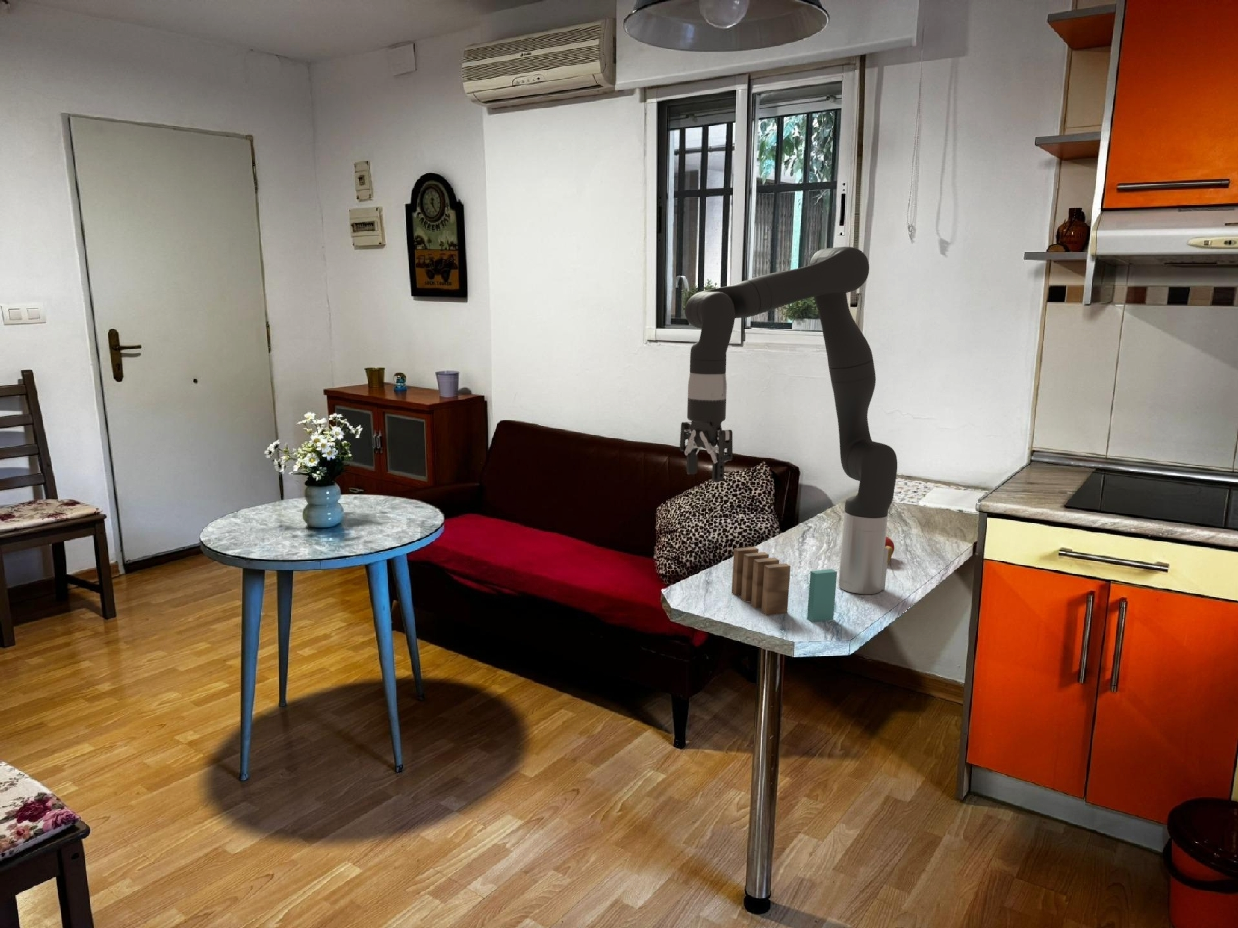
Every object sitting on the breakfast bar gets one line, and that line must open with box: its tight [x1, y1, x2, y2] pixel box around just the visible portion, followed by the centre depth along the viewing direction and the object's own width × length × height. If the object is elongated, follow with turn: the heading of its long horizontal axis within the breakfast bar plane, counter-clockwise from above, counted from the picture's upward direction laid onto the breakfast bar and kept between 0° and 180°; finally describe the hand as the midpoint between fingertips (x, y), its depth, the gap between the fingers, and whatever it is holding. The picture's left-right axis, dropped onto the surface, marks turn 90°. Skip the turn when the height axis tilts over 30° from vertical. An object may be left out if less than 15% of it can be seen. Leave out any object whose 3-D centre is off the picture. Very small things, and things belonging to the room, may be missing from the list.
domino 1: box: [731, 546, 759, 596], centre depth 184 cm, size 5×2×10 cm, turn 111°
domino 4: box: [761, 562, 791, 616], centre depth 173 cm, size 5×2×10 cm, turn 111°
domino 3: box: [750, 557, 780, 610], centre depth 177 cm, size 5×2×10 cm, turn 111°
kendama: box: [885, 536, 895, 564], centre depth 210 cm, size 8×6×18 cm
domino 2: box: [740, 551, 770, 602], centre depth 181 cm, size 5×2×10 cm, turn 111°
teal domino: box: [806, 568, 838, 623], centre depth 170 cm, size 5×2×10 cm, turn 111°
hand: (704, 477), depth 169 cm, fingers open, 8 cm apart
